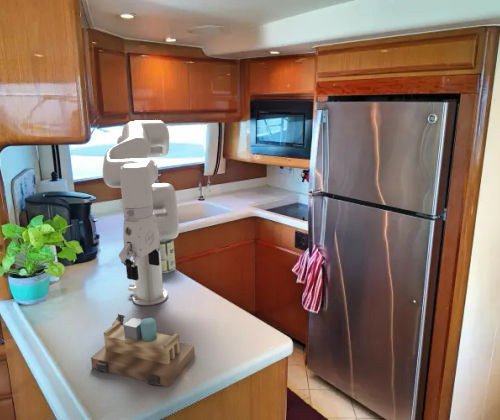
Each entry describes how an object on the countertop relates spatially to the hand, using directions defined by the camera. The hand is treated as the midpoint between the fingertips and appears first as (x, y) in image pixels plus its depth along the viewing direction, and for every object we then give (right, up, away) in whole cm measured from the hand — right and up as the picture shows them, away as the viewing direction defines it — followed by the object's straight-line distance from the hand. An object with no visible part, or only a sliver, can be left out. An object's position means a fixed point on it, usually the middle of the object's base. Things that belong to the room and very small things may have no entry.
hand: (144, 271), depth 111 cm
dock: (-1, -25, +3) cm, 25 cm away
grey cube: (-3, -18, +2) cm, 18 cm away
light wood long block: (-1, -22, +2) cm, 22 cm away
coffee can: (-9, -9, +65) cm, 66 cm away
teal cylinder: (+1, -18, 0) cm, 18 cm away
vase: (-12, -22, +17) cm, 30 cm away
